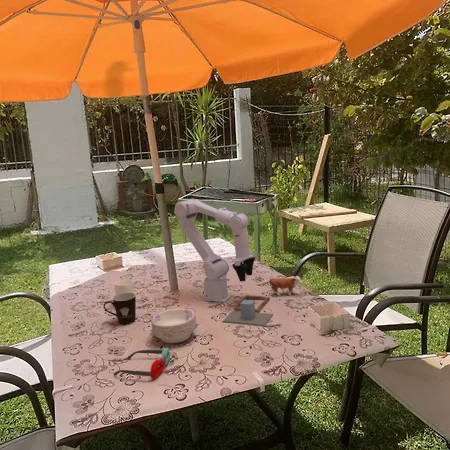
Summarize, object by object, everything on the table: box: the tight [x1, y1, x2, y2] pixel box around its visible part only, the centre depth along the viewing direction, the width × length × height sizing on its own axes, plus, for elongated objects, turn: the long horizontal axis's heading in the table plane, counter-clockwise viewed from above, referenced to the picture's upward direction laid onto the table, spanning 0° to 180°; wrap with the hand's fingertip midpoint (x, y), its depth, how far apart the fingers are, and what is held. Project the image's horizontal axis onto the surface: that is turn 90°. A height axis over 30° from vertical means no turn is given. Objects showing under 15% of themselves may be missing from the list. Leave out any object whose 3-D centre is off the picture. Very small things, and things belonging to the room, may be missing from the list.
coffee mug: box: [102, 292, 137, 326], centre depth 179 cm, size 12×9×10 cm
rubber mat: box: [222, 310, 274, 327], centre depth 174 cm, size 16×10×1 cm, turn 67°
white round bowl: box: [150, 308, 198, 344], centre depth 162 cm, size 15×15×8 cm
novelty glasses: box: [113, 347, 171, 379], centre depth 143 cm, size 14×15×5 cm
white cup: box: [113, 278, 135, 295], centre depth 196 cm, size 8×8×10 cm
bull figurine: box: [269, 275, 303, 297], centre depth 194 cm, size 4×13×8 cm, turn 78°
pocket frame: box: [233, 294, 271, 313], centre depth 186 cm, size 10×14×1 cm
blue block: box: [240, 299, 256, 320], centre depth 173 cm, size 4×4×6 cm
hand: (246, 278), depth 187 cm, fingers open, 7 cm apart
